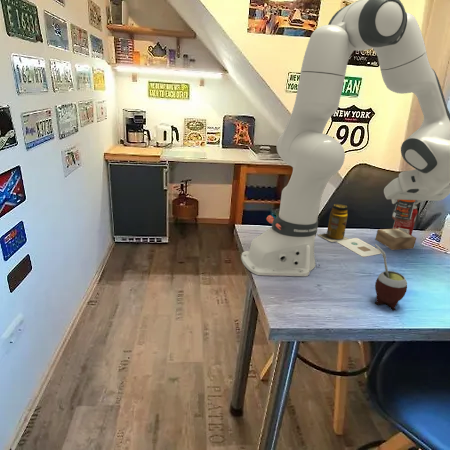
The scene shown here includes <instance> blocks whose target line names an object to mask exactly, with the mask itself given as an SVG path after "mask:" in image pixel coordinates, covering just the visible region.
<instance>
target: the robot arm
mask: <svg viewBox="0 0 450 450" xmlns="http://www.w3.org/2000/svg"><path fill="white" fill-rule="evenodd" d="M371 49H372V50H373V51H374V52H375V54H376V56H377V60H378V65H379V68H380V73H381V77H382V80H383V82H384V85H385V86H386V88H387V89H388V90H389V91H391V92H393V93H395V94H404V95H405V94H410V93H413V95H415V97H416V98H417V101H418V103H419V107H420V109H421V112H422V114H423V120H422V123H421V125H420V127H419V128H417V130H415V131H414V132H413V133H412V134H410V135H409V136H408V137H407V138H406V139H405V140H404V141H403V142H402V144H401V146H400V154H401V157H402V159H403V161H405V162H406V163H407V164H408V165H409V166H410V167H412V168H414V169H412V170H405V171H401V172H400V173H398V177H396V178H394V179H392V180H391V181H389V182H388V184H387V185H386V186H385V187H384V189H383V194H384V197H385V199H386V200H391V204H392V205H395V204H397V203H398V202H399V200H415V204H414V205H418V204H420V203H423V202H426V201H434V202H435V201H436V202H440V201H443V200H444V199H445V198H447V197H448V196H450V111H449V109H448V106H447V102H446V99H445V96H444V93H443V89H442V86H441V83H440V80H439V78H438V75H437V72H435V71H436V70H434V68H432V66H431V64H430V61H429V58H428V53H427V47H426V44H425V40H424V36H423V34H422V31H421V27H420V25H419V23H418V21H417V18H416V17H415V16H414V15H413V14H412V13H410V12H406V10H405V7H404V5H403V3H402V2H401V0H357V1H355V2H352V3H350V4H348V5H347V6H343V7H342V8H340V9H339V10H337V11H336V12H335V13H334V14H333V16H332V17H331V19H330V20H329V22H328V24H324V25H321V26H319V27H317V28H316V29H315V30H314V31H313V32H312V33H311V35H310V37H309V40H308V43H307V45H306V49H305V51H304V55H303V60H302V64H301V69H300V74H299V79H298V86H297V89H296V90H297V91H296V97H295V100H294V104H293V108H292V112H291V113H290V116H289V119H288V122H287V125H286V127H285V129H284V131H283V132H282V133H281V134H280V135H279V137H278V139H277V141H276V152H277V154H278V156H279V157H280V159H281V160H282V161H283V162H284V163H285V164H286V165H288V166H290V167H292V173H291V176H290V179H289V181H288V183H287V184H286V186H285V187H283V188H282V190H281V196H280V202H279V203H280V205H279V211H278V212H279V213H278V215H277V216H276V217H273V216H272V215H271V214H269V215H267V217H266V218H265V219H266V221H267V222H268V223H269V224H271V227H270V228H269V229H267V230H266V231H264V232H263V233H261V234H259V235H258V236H256V237H254V238H253V239H252V241H251V243H250V247H249V249H248V250H245V251H243V252H242V253H241V256H240V260H241V263H242V264H243V266H244V267H245V268H246V269H247V270H248V271H249V272H251V273H253V274H254V275H257V276H281V277H308V276H309V275H310V272H311V271H312V270H313V269H315V267H316V257H315V241H316V236H317V232H318V228H319V220H318V217H319V213H320V212H319V211H320V207H321V201H322V196H323V193H324V190H325V189H326V186H327V185H328V183H329V181H330V179H331V178H332V177H333V176H334V175H336V174H337V173H339V171H340V170H341V169H342V167H343V165H344V162H345V159H346V157H345V156H346V153H345V152H346V151H345V148H344V147H343V145H342V144H341V142H339V141H337V140H336V139H335V138H334V137H333V136H331V135H329V134H326V133H324V130H325V128H326V126H327V123H328V122H329V120H330V118H331V117H332V116H333V115H334V114H336V112H337V110H338V109H339V107H340V102H341V96H342V93H343V92H342V91H343V88H344V87H343V86H344V84H345V83H344V82H345V77H346V74H347V73H346V72H347V68H348V67H347V66H348V63H349V60H350V58H351V55H352V54H353V52H355V51H357V52H358V51H359V52H360V51H361V52H362V51H366V50H371Z"/></svg>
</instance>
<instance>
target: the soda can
mask: <svg viewBox="0 0 450 450" xmlns="http://www.w3.org/2000/svg"><path fill="white" fill-rule="evenodd" d="M417 216H418V206H417V205H416V204H414V208H413V212H412V216H411V220H410V221H409V222H399V221H396V220H394V222H393V226H392V229H397V228H398V229H400V230H402V231H404V232H406V233H408V234H410V235H412V234H413V231H414V227H415V223H416V220H417ZM412 236H413V235H412Z"/></svg>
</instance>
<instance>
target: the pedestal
mask: <svg viewBox="0 0 450 450" xmlns="http://www.w3.org/2000/svg"><path fill="white" fill-rule="evenodd" d="M374 240H375V241H377V242H378V243H380V244H382V245H383V246H385V247H387V248H388V249H390V250H392V251H394V250H409V249H414V248H415V245H416V241H417V237H416V236H413V235H410V234H408V233H406V232H404V231H402V230H400V229H398V228H397V229H393V228H380V229H377V231H376V235H375V239H374Z"/></svg>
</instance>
